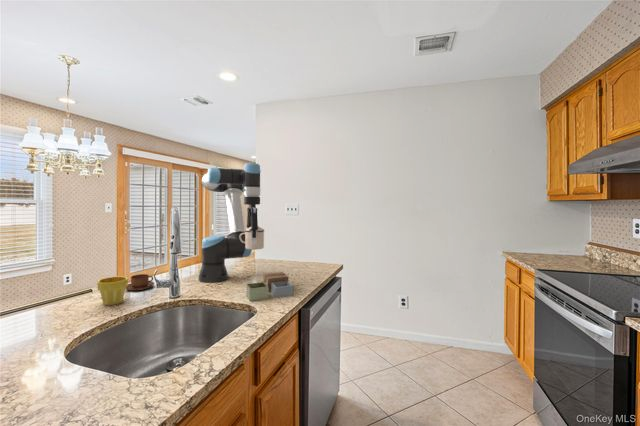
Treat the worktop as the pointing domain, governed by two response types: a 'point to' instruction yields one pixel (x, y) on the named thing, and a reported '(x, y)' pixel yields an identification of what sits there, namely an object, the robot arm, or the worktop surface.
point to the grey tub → (282, 289)
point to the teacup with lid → (248, 239)
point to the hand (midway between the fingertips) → (252, 243)
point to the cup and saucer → (140, 282)
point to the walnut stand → (274, 278)
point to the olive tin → (257, 291)
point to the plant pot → (112, 289)
